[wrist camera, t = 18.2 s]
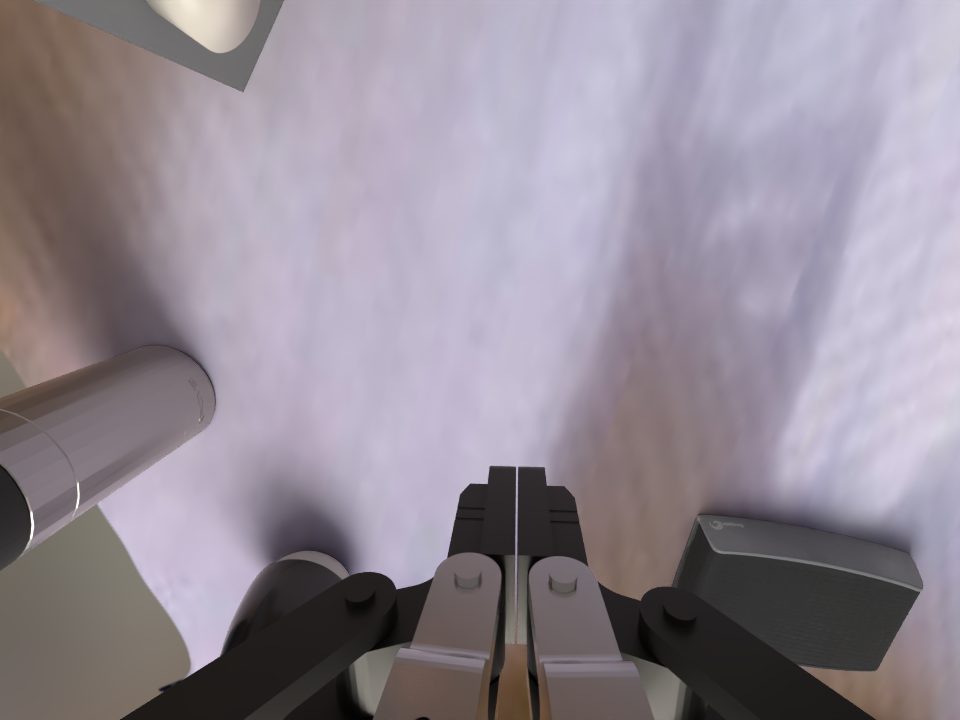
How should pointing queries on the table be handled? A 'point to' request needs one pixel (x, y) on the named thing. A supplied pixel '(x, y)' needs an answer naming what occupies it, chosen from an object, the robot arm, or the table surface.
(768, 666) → the robot arm
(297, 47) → the table surface
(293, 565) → the dark grey tapered speaker
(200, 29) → the cream knob
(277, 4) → the knob mount
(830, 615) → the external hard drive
